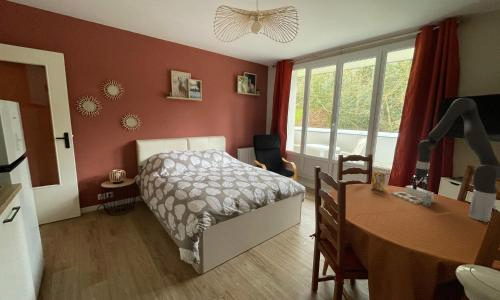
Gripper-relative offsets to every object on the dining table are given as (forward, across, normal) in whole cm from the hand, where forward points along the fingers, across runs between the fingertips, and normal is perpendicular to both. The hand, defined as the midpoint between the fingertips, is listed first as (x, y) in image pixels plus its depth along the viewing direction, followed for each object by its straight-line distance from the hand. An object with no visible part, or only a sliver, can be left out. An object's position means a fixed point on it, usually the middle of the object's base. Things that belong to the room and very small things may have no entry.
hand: (418, 188), depth 159 cm
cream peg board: (+7, -10, 0) cm, 12 cm away
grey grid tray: (+7, 0, 0) cm, 7 cm away
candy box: (+8, -15, +21) cm, 27 cm away
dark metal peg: (+7, -10, -14) cm, 18 cm away
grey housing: (+6, 0, 0) cm, 6 cm away
